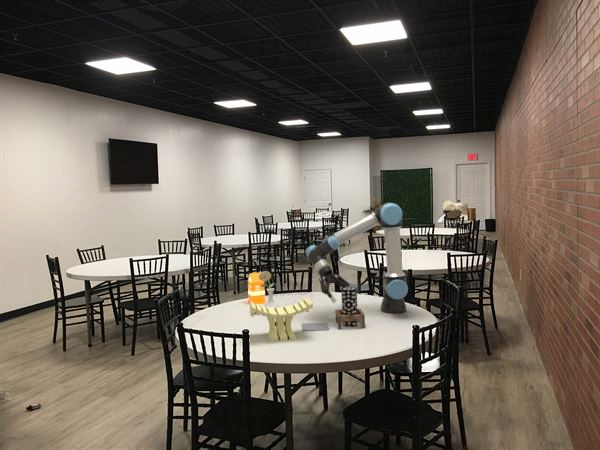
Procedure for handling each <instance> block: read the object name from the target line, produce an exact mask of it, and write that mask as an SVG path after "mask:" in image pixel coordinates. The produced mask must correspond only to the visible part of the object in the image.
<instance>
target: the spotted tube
mask: <svg viewBox="0 0 600 450" xmlns="http://www.w3.org/2000/svg"><path fill="white" fill-rule="evenodd" d="M340 289H341V310H342V315H357V309H358V288H357V287H354V286H349V287H345V288H343V287H341V288H340ZM358 323H359V322H358V321H346V322H341V327H345V328H356V327H357V326H358Z"/></svg>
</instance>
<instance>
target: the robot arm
mask: <svg viewBox="0 0 600 450" xmlns="http://www.w3.org/2000/svg"><path fill="white" fill-rule="evenodd" d="M403 215H404V214H403V210H402V208H401V207H400V206H399V205H398V204H396V203H395V202H394V203H393V202H385V203H383V204H382V205H380V206H379V207H377V208H376V209H374V210H372V211H371V213H369V215H366V216H365V217H363V218H360V219H359V220H357V221H355V222H354V223H352V224H349V225H347V226H346V227H344V228H342V229H340V230H338V231H336V232H334V233H332V234H330V235H329V236H326V237H324V239H322V242H321V243H320V244H319V245H315V244H311V245H310V246H308V247H307V248H306V249H305V255H306V256H307V259H308V260H309V261H310V263H311V264H312V266H313V267H314V268H315V270H316V272H317V273H318V275H319V278H318V281H319V283H320V289H321V293H322V294H324V295H326V296H327V297H328V298H329V299H330V300H331V302H332V304H335V303H336V302H337V298H336V296H335V295H334V294H333V292H332V290H330V284H336V285H338V286H340V288H345V287H350V285H351V283H349V282H348V281H346V280H345V279H344V278H343V277H342V276H341V275H340V274H339V273H337V272H336V274H334V273H333V272H334V271H333V269H332V267H331V266H330V265H329V263H328V261H327V260H326V258H325V257H327V256H328V255H330V254H331V253H332V252H334V251H336V250H337V249H338V248H339V247H340V246H341V244H345V243H346V242H348V241H350V240H351V239H353V238H355V237H357V236H360V235H361V234H364V233H366V232H367V231H369V230H370V229H373V228H374V227H377V226H380V228H381V229H382V230H383V232H384V246H385V256H386V258H385V259H386V260H385V261H386V269H387V272H383V274H382V285H383V287H382V291H383V293H382V294H383V295H382V296H383V298H382V301H381V304H380V311H381V313H382V312H383V313H385V314H401V313H405V312H407V304H406V302H405V300H404V298H405V297H406V296H407V295H408V293H409V287H408V284H407V277H406V276H407V274H406V273H405V272H404V270H403V259H402V256H403V255H402V243H401V228H403V219H402V218H403Z"/></svg>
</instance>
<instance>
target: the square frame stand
mask: <svg viewBox="0 0 600 450" xmlns="http://www.w3.org/2000/svg"><path fill="white" fill-rule="evenodd" d="M334 311H335V312H334V313H335V323H336V324H337V325H338V327H337V329H338V330H342V322H346V321H358V323H361V329H365V328H366V317H365V313H364V312H363V311H362V309H361V308H357V315H342V309H334Z"/></svg>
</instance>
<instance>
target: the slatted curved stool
mask: <svg viewBox="0 0 600 450" xmlns="http://www.w3.org/2000/svg"><path fill="white" fill-rule="evenodd" d="M260 305H261V304H256V305H254V303H253V302H250V303H249V311H250V312H249V313H250V317H255V316H262V317H265V318H266V319H267V322H268V324H269V325H268V327H269V329H268V332H267V333H268V334H267V335H268V338H269V340H270V342H279V341H280V342H285V341H288V340H289V341H296V340H298V339H297V337H296V336H295V333H294V332H293V329H292V321H293V318H294V316H297V314H303V313H304V312H305V313H310V310H312V309H313V310H314V304H313V302H312V300H311V299H310V298H309V297H306V298H304V299H303V300H300V301H298V303H297V302H296V303H293V304H291V305H286V306H284V307H282V306H280V307H278V308H273V307H267V309H266V308H265V306H264V305H261V306H260Z"/></svg>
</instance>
